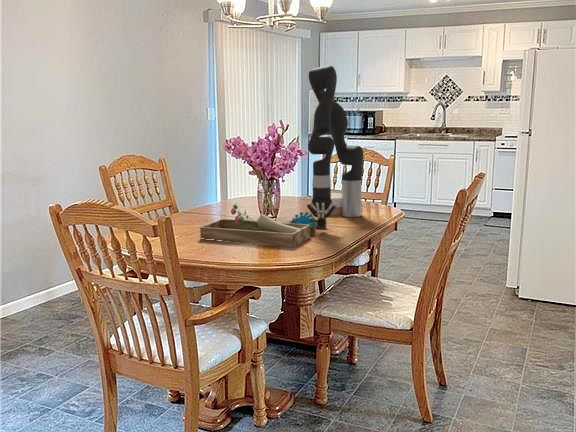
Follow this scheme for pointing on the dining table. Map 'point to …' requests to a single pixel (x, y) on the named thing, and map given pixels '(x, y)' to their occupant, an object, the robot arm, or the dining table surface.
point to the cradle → (312, 228)
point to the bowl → (336, 203)
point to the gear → (305, 219)
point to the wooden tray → (254, 233)
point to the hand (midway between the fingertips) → (321, 226)
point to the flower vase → (263, 222)
